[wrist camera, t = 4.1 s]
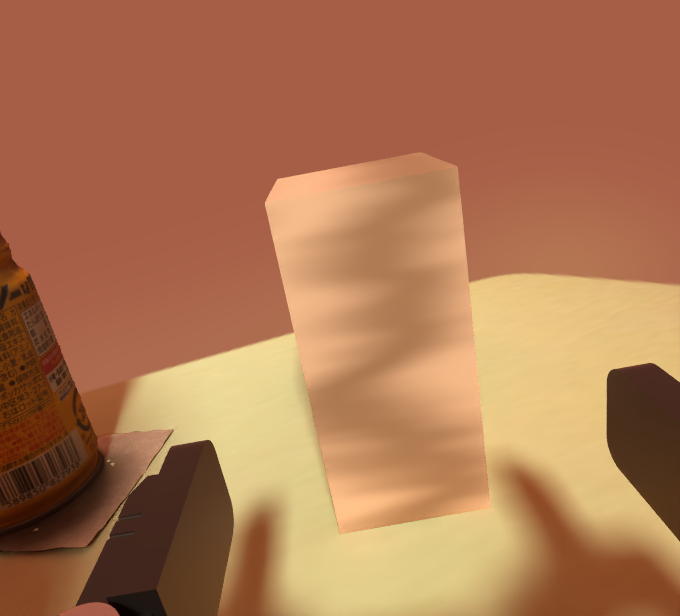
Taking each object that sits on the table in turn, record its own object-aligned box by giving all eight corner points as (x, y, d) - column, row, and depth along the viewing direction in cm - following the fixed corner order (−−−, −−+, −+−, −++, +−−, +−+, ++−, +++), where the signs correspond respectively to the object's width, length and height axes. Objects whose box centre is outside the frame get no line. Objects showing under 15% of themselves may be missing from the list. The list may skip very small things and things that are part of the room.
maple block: (340, 533, 18) (264, 203, 14) (334, 444, 22) (277, 179, 18) (490, 507, 17) (457, 166, 14) (453, 423, 22) (420, 152, 18)
